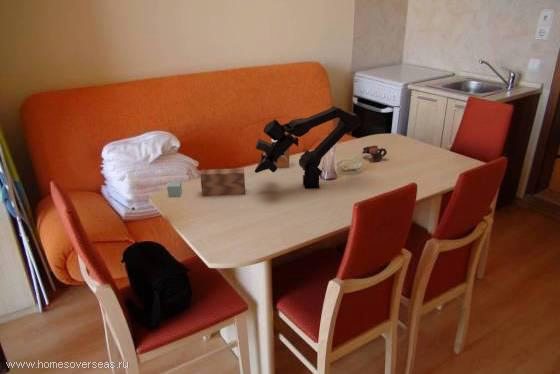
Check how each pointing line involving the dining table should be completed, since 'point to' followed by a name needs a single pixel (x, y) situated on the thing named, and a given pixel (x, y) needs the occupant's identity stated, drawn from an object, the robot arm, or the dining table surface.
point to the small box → (282, 159)
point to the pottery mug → (374, 153)
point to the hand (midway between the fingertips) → (255, 172)
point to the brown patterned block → (222, 182)
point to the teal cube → (174, 189)
